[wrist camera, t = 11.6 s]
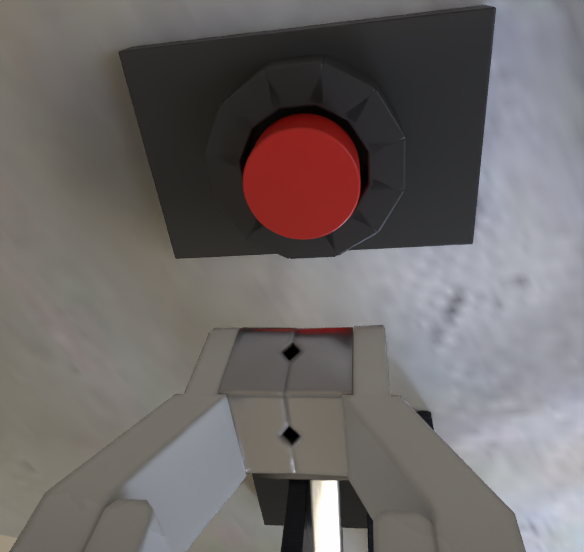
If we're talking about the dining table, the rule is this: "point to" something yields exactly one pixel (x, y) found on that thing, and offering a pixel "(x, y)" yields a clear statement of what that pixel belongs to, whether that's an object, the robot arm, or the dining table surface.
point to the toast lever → (321, 508)
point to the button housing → (328, 103)
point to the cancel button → (302, 177)
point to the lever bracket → (309, 508)
